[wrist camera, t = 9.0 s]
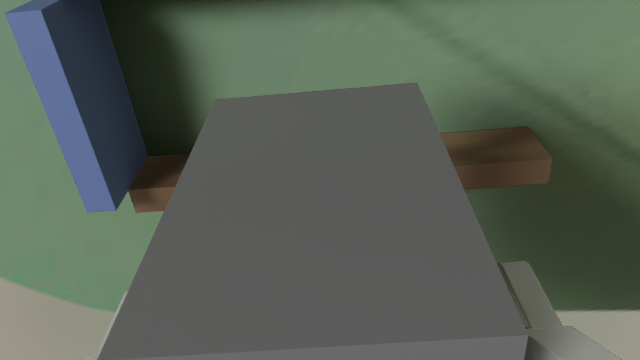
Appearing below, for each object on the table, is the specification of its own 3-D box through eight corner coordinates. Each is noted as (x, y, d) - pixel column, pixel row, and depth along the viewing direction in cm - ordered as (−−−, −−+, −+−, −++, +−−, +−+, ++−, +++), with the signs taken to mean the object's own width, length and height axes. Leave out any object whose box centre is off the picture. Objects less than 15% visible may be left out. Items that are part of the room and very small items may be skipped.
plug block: (417, 82, 11) (528, 334, 5) (414, 283, 14) (481, 584, 8) (214, 99, 11) (96, 360, 5) (256, 294, 14) (211, 593, 8)
